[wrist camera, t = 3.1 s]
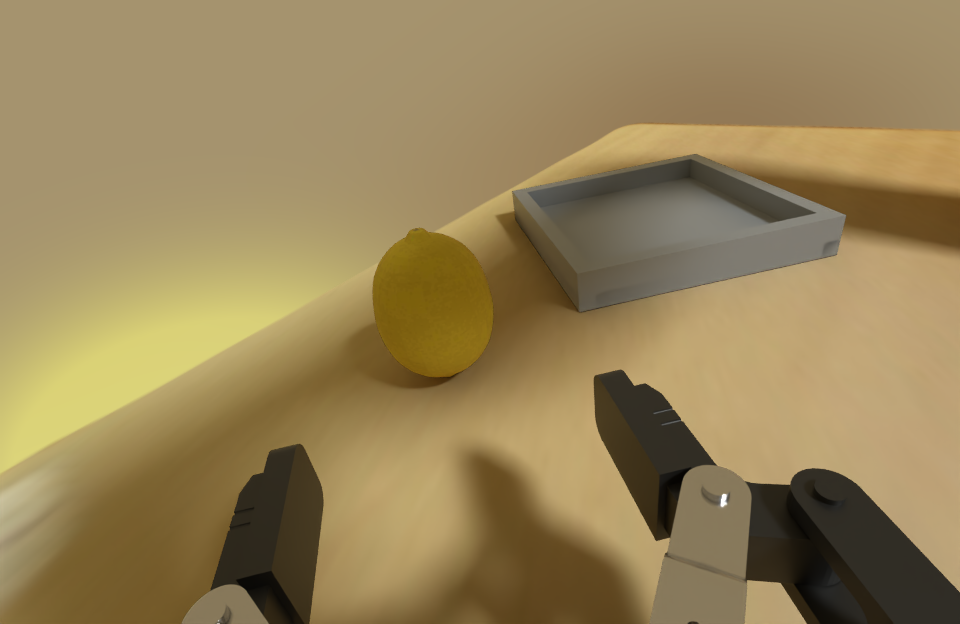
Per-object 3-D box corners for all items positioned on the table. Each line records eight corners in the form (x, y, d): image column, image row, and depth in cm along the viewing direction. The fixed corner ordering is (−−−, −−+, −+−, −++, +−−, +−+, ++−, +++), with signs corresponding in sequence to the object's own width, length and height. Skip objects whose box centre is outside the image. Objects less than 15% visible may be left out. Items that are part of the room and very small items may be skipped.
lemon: (516, 348, 27) (497, 205, 23) (479, 420, 22) (446, 260, 18) (425, 338, 29) (392, 206, 25) (375, 403, 25) (325, 256, 20)
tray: (693, 182, 44) (695, 153, 42) (836, 254, 30) (846, 215, 29) (515, 219, 42) (512, 191, 41) (579, 312, 29) (577, 273, 27)
